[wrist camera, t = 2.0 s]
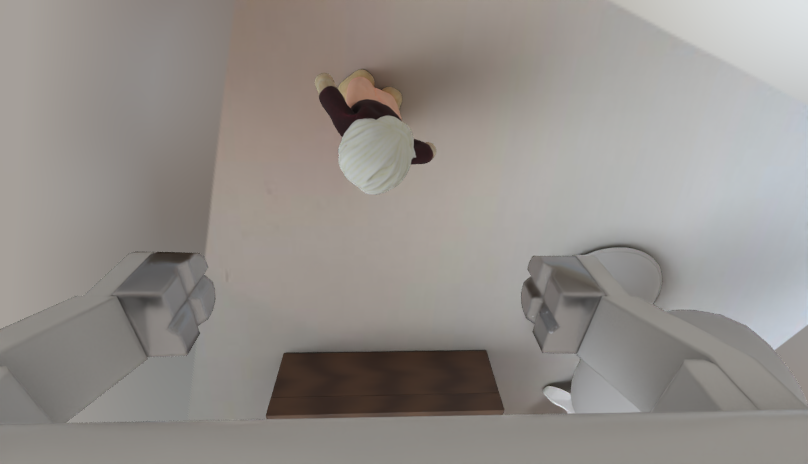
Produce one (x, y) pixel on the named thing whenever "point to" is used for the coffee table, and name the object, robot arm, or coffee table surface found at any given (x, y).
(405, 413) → the box with brass rails
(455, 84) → the coffee table surface
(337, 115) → the grandmother figurine
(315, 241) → the coffee table surface
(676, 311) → the chalice
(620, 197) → the coffee table surface
